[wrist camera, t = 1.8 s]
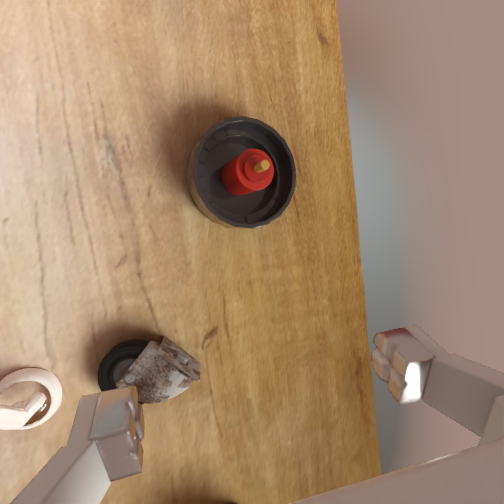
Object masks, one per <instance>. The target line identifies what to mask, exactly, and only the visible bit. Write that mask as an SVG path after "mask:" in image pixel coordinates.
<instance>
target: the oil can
mask: <svg viewBox="0 0 504 504" xmlns="http://www.w3.org/2000/svg"><path fill="white" fill-rule="evenodd" d="M273 174H274V167H273V163H272V161H271V159H270V157H269V156H268V155H267V154H266V153H265V152H263V151H261V150H259V149H248V150H246V151H244V152H243V153H241V154H240V155H238V156H236V157H235V158H233V159H232V160H230V161H229V162H227V163H226V164H225V165H224V167H223V168H222V171H221V182H222V185H223V187H224V188H225V190H226V191H227V192H229V193H230V194H232V195H235V196H242V195H246V194H249V193H252V192H255V191H258V190H261V189H264V188H265V187H267V186H268V185H269V184H270V182H271V181H272V178H273Z"/></svg>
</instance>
